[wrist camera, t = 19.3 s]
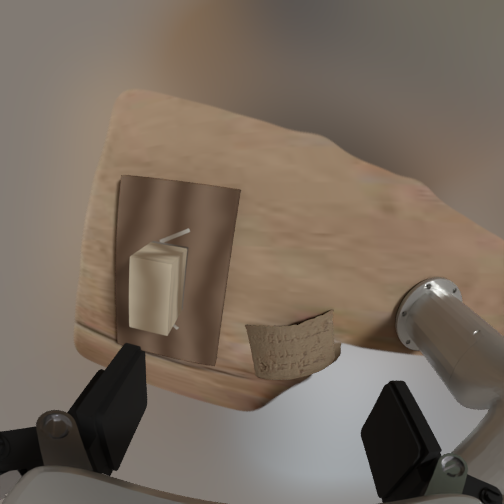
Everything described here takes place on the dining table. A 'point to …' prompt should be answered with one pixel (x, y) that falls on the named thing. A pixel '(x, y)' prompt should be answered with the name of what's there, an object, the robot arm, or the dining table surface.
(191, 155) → the dining table surface
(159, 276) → the cream carton
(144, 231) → the walnut board
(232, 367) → the dining table surface
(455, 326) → the robot arm
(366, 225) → the dining table surface
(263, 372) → the clay tablet
